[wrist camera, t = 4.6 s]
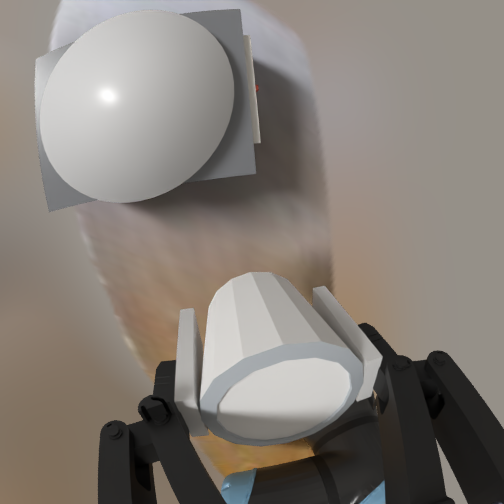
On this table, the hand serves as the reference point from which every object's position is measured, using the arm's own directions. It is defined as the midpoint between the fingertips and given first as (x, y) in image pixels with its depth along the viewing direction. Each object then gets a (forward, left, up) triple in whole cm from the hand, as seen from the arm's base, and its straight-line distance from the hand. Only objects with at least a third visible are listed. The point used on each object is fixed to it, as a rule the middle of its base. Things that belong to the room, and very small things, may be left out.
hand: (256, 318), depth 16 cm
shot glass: (0, 0, -1) cm, 1 cm away
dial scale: (+13, +6, -14) cm, 20 cm away
